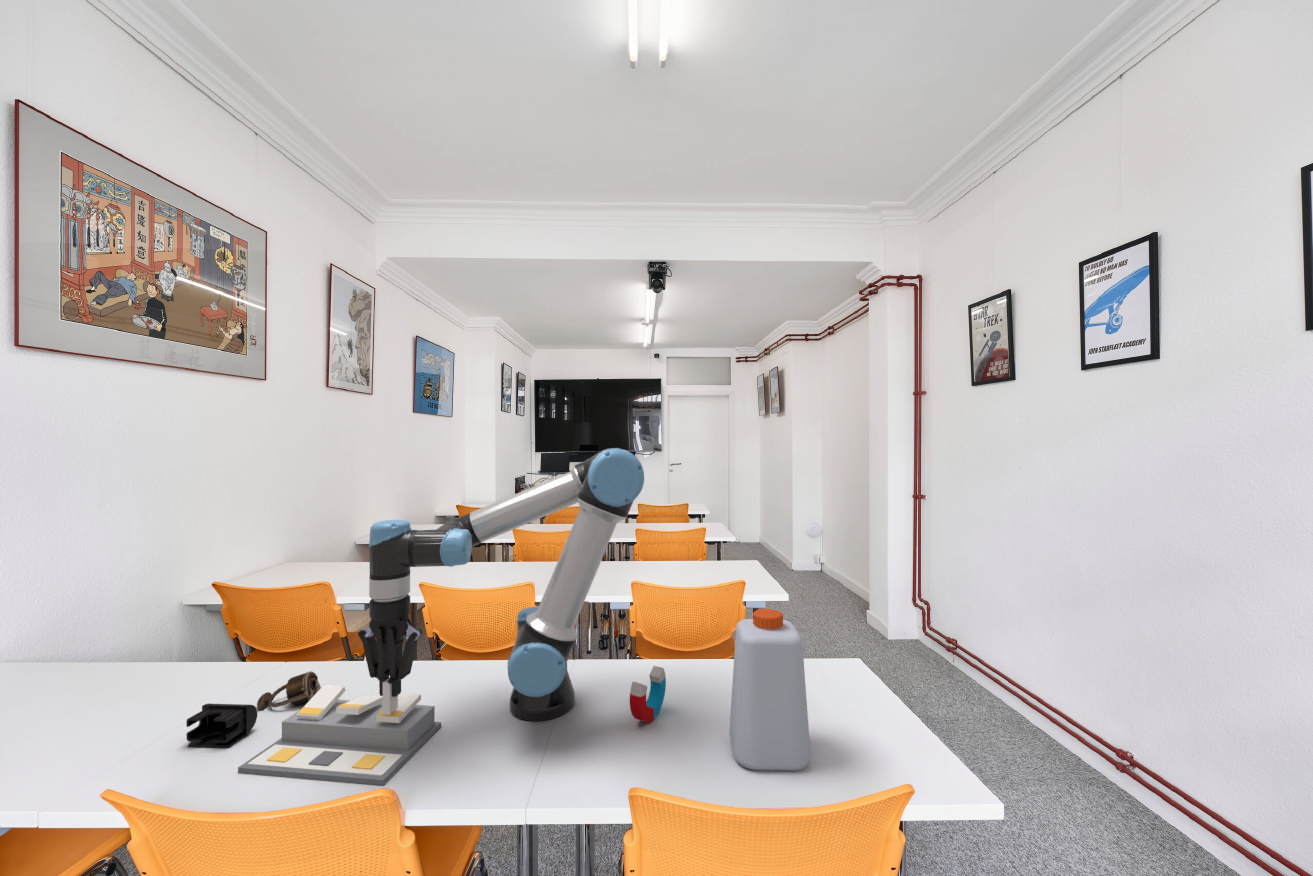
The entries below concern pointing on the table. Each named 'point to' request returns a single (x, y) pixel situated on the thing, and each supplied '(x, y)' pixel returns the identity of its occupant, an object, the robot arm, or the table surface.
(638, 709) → the magnet
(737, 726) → the plastic bottle
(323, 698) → the rocker
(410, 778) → the table surface
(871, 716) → the table surface
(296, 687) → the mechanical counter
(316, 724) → the switch unit
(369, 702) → the rocker middle
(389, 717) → the rocker
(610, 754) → the table surface
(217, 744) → the end cap
